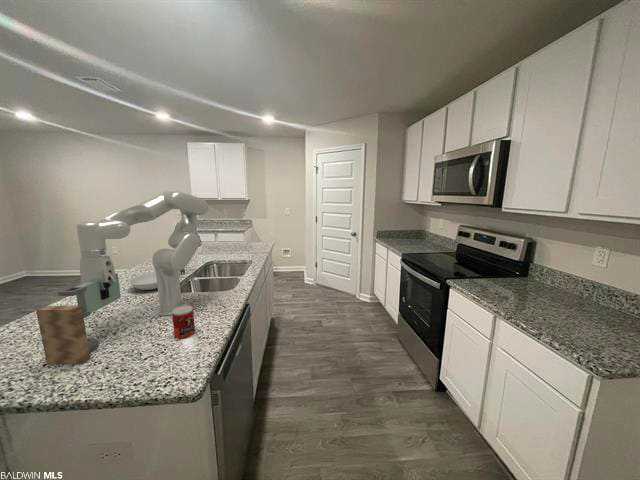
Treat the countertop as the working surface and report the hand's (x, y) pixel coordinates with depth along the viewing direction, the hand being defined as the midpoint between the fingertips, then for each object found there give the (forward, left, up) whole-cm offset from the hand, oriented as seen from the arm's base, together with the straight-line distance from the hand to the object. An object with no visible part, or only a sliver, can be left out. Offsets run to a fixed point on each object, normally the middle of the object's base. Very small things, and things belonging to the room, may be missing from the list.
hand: (100, 298), depth 99 cm
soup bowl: (+16, -55, -17) cm, 60 cm away
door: (0, +3, -3) cm, 4 cm away
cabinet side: (0, +12, -17) cm, 21 cm away
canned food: (-31, -2, -17) cm, 35 cm away
